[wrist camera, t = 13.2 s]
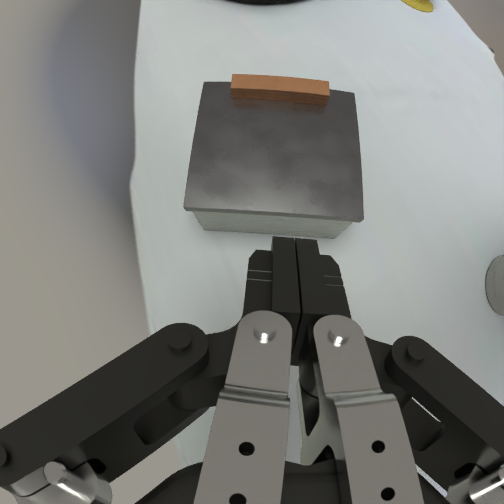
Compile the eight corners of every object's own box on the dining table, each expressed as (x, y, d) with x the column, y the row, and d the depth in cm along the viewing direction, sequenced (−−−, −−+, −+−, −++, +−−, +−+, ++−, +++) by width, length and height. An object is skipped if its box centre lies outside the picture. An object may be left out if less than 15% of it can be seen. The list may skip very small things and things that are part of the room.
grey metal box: (332, 139, 41) (349, 101, 32) (334, 238, 39) (356, 218, 30) (215, 130, 41) (207, 91, 32) (204, 229, 39) (189, 207, 30)
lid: (351, 99, 32) (358, 83, 29) (359, 222, 29) (369, 213, 27) (205, 88, 32) (201, 71, 29) (185, 210, 30) (178, 200, 27)
